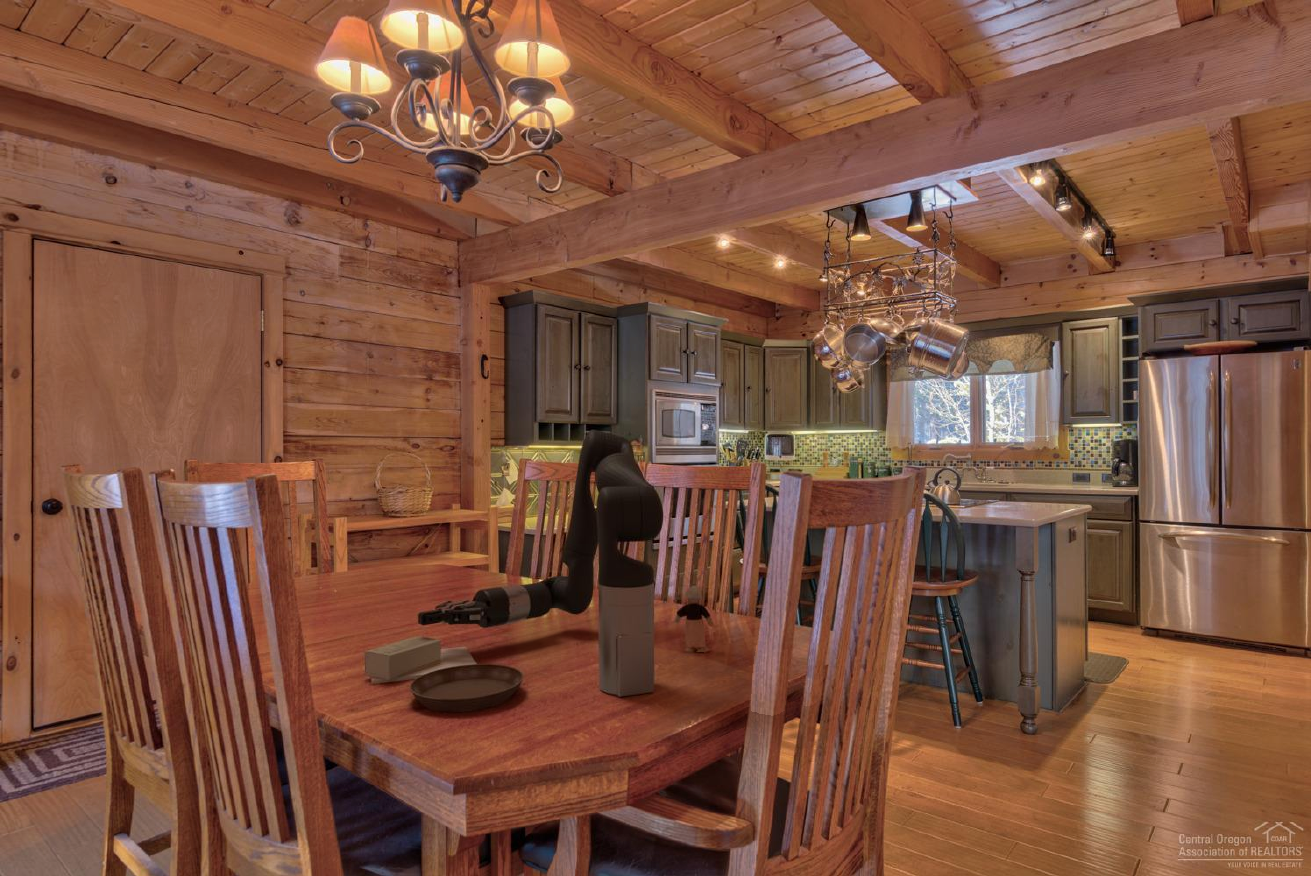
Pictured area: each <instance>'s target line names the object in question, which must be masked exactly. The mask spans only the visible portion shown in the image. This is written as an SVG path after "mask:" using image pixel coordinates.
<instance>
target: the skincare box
mask: <svg viewBox="0 0 1311 876" xmlns="http://www.w3.org/2000/svg"><path fill="white" fill-rule="evenodd" d="M441 646H442V642H441V640H440V639H438V638H431V637H426V636H413V637H411V638H406V639H403V640H399V641H395V642H392V643H388V644H385V645H383V646H378V647H375V648H373V649H369V650H365V651H364V676H366V677H369V678H371V677H374V678H379V679H385V680H391V679H394V678H397V677H400V676H403V675H406V674H409V673H412V672H415V671H418V670H421V669H423V668H426V667H429V666H432V665H435V664H438V663H440V662H441V649H442V648H441Z"/></svg>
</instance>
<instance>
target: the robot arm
mask: <svg viewBox="0 0 1311 876" xmlns="http://www.w3.org/2000/svg"><path fill="white" fill-rule="evenodd" d="M580 448H581V449H580V454H579V457H578V465H577V470H576V471H577V472H576V476H575V477H576V478H575V483H574V484H575V485H574V490H573V497H572V498H573V499H572V508H571V515H570V520H569V525H568V530H567V534H566V538H565V542H564V545H563V550H562V553H561V554H562V555H561V561H562V563H563V564H564V565H565V566H567V568H568V576H564V575H556V576H552V577H548V578H545V579H543V580H541V581H538V582H535V583H534V582H532V583H526V584H520V585H517V584H516V585H512V584H511V585H504V586H498V587H497V586H496V587H490V588H489V587H488V588H482V589H479V590H478V591H476V593H475V594H474V597H473V599H472V600H471V601H470V599H461V600H459V601H456V602H453V601H452V600H447V601H445V602H443V603H440V604H438V605H435V607H434V608H435V609H433V610H432V609H431V610H427V611H420V612H418V613H417V623H418V624H419V625H421V626H428V625H435V624H439V623H440V624H443V625H444V624H448V625H450V626H452V625H478V626H479V627H480V628H482V629H489V628H494V627H500V626H504V625H505V626H506V625H511V624H514V623H518V622H521V621H525V620H531V619H536V618H539V617H543V616H545V615H547V614H548V613H549V612H550V610H551V609H558V610H561V611H563V612H566V613H568V614H571V615H580V614H582V613H584V612H585V611H586V610H587V609H588V608H589V607H590V604H591V602H592V600H593V596H594V588H595V587H594V585H595V583H594V582H595V581H594V578H595V575H594V574H595V572H594V569H595V568H594V561H595V558H596V555H597V550H598V689H599V690H600V691H602V692H603V693H607V694H611V695H616V696H617V697H620V698H621V697H626V696H634V695H635V696H636V695H641V694H648V693H654V692H655V583H654V582H655V574H654V567H653V566H652V565H651V564H649V563H647V562H645V561H642V560H638V559H635V558H633V557H630V556H628V555H626V554H625V553H624V552H622V551H621V550H620V549H619V548H618V543H630V542H631V543H633V542H634V543H635V542H637V543H638V542H648V541H651V540H654V539H656V538H657V537H658V536H659V534H660V533H661V531H662V529H663V525H664V508H663V504H662V501H661V498H660V496H659V493H658V492H657V490H656V489H655V487H654V485H652V484H651V483H650V482H648V481H647V480H646V479H645V475H644V474H643V471H642V470H641V467H640V466H639V464H638V463H637V461H636V459H635V453H634V449H633V448H634V447H633V445H632V443H631V441H630V440H629V439H628V438H626V437H623V436H621V435H618V434H617V435H616V434H612V433H609V432H605V431H601V430H596V429H591V430H590V431H589V430H588V432H587V434H586V435H585V437H584V440H583V442H582V445H581V447H580ZM592 473H594V481H595V482H594V483H595V486H596V490H597V493H598V494H597V497H596V498H597V499H596V506H595V504H594V501H593V496H592V491H591V476H592Z"/></svg>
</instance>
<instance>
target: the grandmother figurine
mask: <svg viewBox="0 0 1311 876" xmlns="http://www.w3.org/2000/svg"><path fill="white" fill-rule="evenodd" d="M702 593H703V592H702V589H701V587H700V586H698V585H691V586H690V587H688V588H687V589H686V591H685V596H684V597H685V598H686V599H687V600H688V602H689V604H685V605H683V606H681V607H680V608H679V609H678V610H677V612H676V615H675V618H674V622H675V623H676V624H679V622H680V621H681V619H682V618H684V617H686V619H685V625H684V629H685V632H684V633H685V634H684V636H685V645H686V648H685V652H686V653H694V652H695V651H696V653H698V652H704V653H707V652H709V648H708V647H707V646H706V635H705V623H704V619H705V620H706V622H707V625H708V627H713V626H714V621H712V620H713V619H712V617H711V615H712V614H711V613H710V612H709V610H708V609H707V608H706V607H705V606H704V605H701V604H699V603H700V602H701V599H702Z"/></svg>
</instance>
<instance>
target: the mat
mask: <svg viewBox="0 0 1311 876" xmlns="http://www.w3.org/2000/svg"><path fill="white" fill-rule="evenodd" d="M472 664H477V662H476V660H475V659H474V657H473V656H472V654H471V653H470V651H469V649H468V648H467V647H466V646H460V647H459V646H458V647H450V648H441V662H440V663H438V664H435V665H432V666H429V667H426V668H423V669H421V670H418V671H415V672H412V673H409V674H406V675H403V676H400V677H397V678H394V679H391V680H385V679H379V678H374V677H370V681H371V682H370V683H371V685H374V684H384V683H392V682H402V681H409V680H415V679H416V678H418V677H420V676H422V675H424V674H427V673H430V672H433V671H436V670H440V669H444V668H448V667H454V666H461V665H472Z"/></svg>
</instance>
